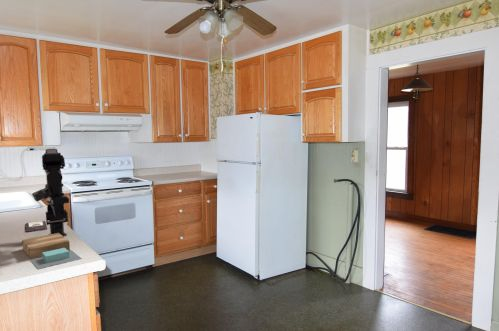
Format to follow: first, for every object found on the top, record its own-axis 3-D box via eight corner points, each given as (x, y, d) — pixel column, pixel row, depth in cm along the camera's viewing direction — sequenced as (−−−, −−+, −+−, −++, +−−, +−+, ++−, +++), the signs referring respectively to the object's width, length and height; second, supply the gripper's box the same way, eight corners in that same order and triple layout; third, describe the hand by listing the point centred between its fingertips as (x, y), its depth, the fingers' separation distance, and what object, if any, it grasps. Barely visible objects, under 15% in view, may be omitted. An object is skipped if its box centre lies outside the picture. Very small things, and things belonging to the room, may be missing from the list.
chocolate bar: (25, 231, 173) (25, 223, 188) (26, 233, 173) (25, 225, 189) (47, 228, 178) (45, 220, 193) (47, 230, 178) (45, 222, 193)
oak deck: (22, 249, 149) (22, 239, 149) (59, 241, 158) (58, 232, 158) (31, 259, 137) (30, 249, 137) (69, 250, 147) (69, 241, 146)
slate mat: (29, 259, 137) (29, 259, 137) (71, 250, 147) (71, 250, 147) (37, 269, 127) (37, 269, 127) (81, 258, 137) (81, 258, 137)
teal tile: (46, 256, 133) (46, 262, 133) (69, 251, 138) (69, 257, 138) (42, 252, 137) (42, 258, 137) (64, 247, 142) (65, 253, 143)
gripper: (28, 181, 154) (30, 216, 156) (38, 186, 140) (40, 224, 142) (56, 179, 162) (58, 212, 163) (68, 183, 148) (70, 219, 149)
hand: (56, 217), depth 154 cm, fingers closed
